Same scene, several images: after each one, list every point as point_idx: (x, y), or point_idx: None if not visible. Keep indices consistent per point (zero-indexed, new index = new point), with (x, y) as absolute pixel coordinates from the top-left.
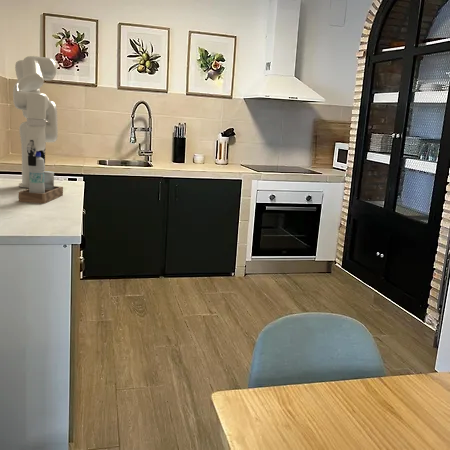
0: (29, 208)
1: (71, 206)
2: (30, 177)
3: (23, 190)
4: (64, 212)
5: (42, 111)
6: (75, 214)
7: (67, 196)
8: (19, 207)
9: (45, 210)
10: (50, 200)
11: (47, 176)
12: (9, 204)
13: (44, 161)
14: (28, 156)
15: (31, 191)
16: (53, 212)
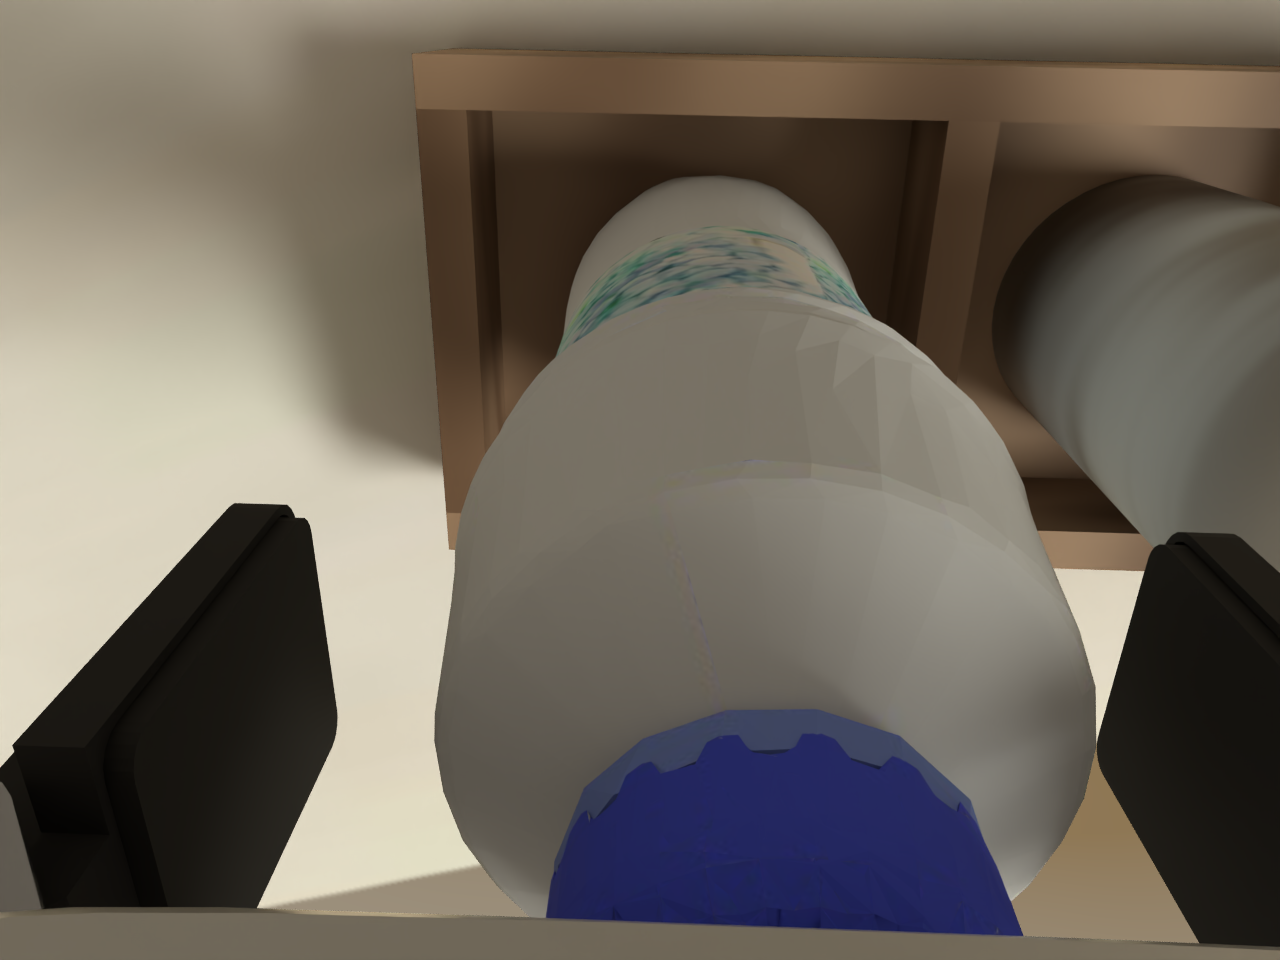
0: (43, 417)
1: (445, 798)
2: (578, 325)
3: (650, 66)
4: None
5: None
6: None
7: None
8: (21, 267)
9: (52, 626)
10: None
11: (1151, 531)
12: (139, 14)
13: (1147, 818)
14: (34, 749)
15: (576, 273)
16: (5, 729)
